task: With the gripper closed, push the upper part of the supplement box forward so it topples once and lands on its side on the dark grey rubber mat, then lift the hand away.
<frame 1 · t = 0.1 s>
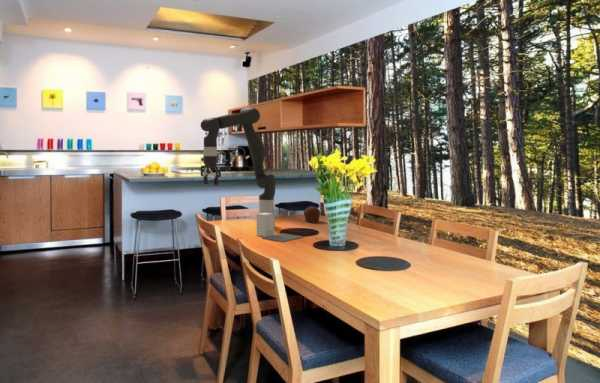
hand: (210, 184, 268), 29 cm above the table, fingers open, 8 cm apart
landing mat: (283, 237, 269), on the table
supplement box: (265, 235, 276), on the table
muffin: (312, 221, 326), on the table
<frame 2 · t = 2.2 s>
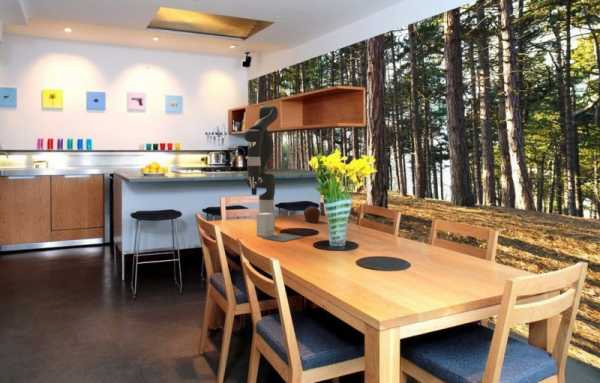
hand: (254, 194, 279), 23 cm above the table, fingers closed
nothing on the table moved.
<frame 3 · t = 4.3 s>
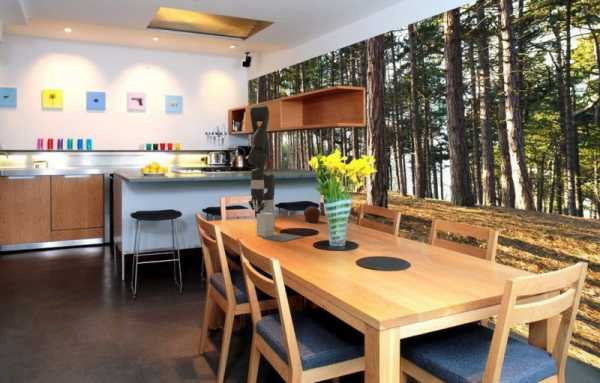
hand: (257, 217, 278), 10 cm above the table, fingers closed
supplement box: (265, 235, 276), on the table, touching gripper
everything else where it was.
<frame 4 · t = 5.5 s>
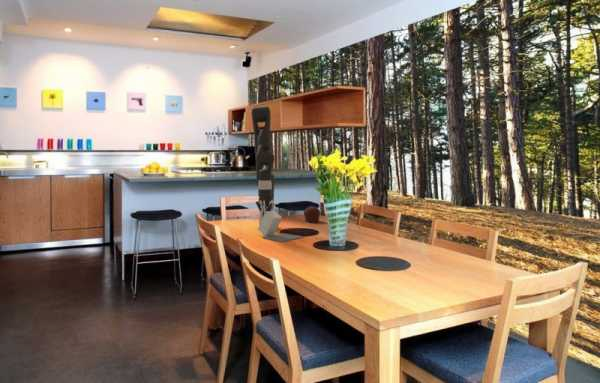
hand: (264, 218, 275), 10 cm above the table, fingers closed
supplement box: (265, 232, 275), point 2 cm above the table
everything else where it was.
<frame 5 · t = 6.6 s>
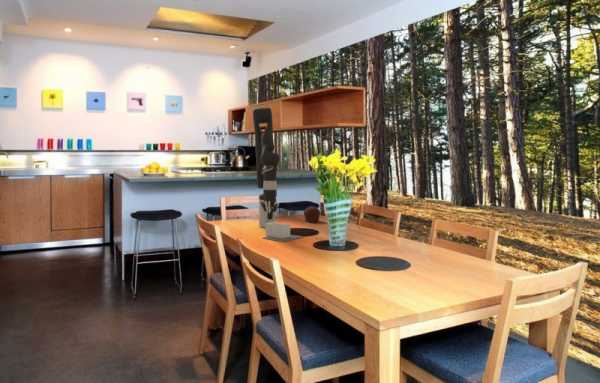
hand: (270, 219, 272), 10 cm above the table, fingers closed
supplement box: (269, 228, 273), point 4 cm above the table, touching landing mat
everything else where it was.
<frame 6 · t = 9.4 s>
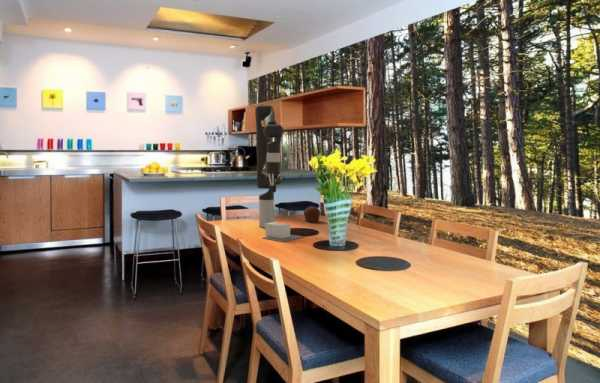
hand: (273, 192, 270), 25 cm above the table, fingers closed
nothing on the table moved.
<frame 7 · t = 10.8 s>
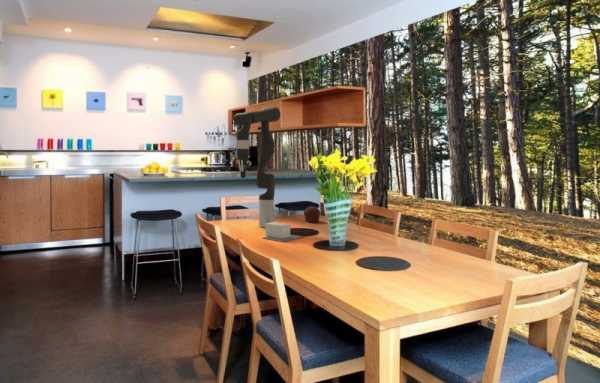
hand: (242, 178, 281), 32 cm above the table, fingers closed
nothing on the table moved.
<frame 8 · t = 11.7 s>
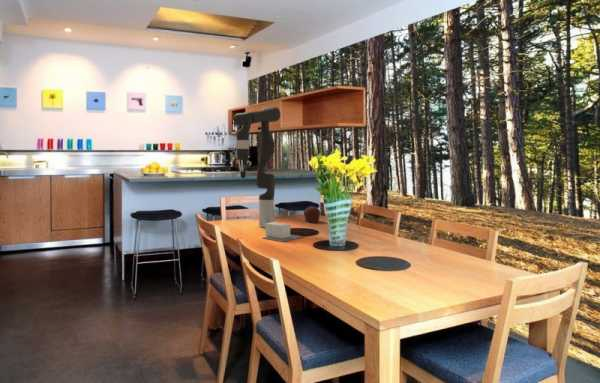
hand: (242, 178, 281), 32 cm above the table, fingers closed
nothing on the table moved.
at the end: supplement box tilted 90°; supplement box touching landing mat; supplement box inside the target area (2.2 cm from its centre), point 4.3 cm above the table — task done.
